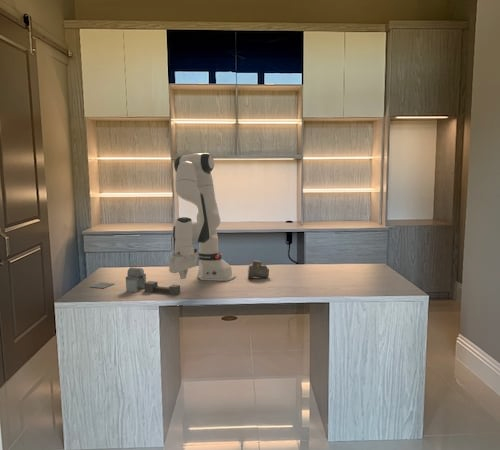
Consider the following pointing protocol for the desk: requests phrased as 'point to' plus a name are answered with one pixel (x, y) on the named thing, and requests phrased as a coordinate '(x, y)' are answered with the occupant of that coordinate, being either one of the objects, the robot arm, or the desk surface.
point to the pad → (102, 285)
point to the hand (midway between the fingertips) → (183, 278)
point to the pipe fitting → (258, 270)
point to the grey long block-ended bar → (161, 288)
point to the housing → (135, 279)
